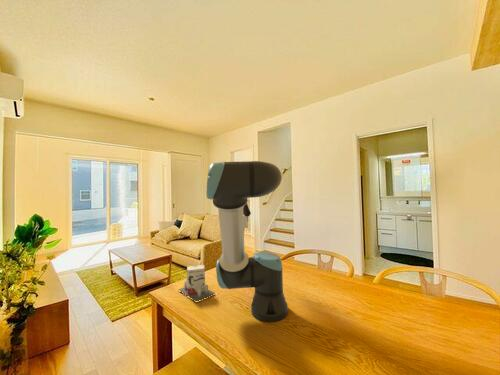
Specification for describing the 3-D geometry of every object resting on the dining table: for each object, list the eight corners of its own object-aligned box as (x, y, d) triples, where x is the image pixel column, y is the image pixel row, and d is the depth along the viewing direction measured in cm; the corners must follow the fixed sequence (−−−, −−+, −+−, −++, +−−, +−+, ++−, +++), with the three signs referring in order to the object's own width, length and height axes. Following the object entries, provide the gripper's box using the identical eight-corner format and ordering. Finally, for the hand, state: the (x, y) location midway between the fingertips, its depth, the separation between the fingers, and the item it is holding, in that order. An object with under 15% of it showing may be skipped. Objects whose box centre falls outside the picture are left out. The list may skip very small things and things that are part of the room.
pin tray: (214, 294, 104) (214, 284, 104) (196, 303, 97) (196, 292, 97) (196, 284, 116) (195, 275, 116) (178, 291, 109) (178, 281, 109)
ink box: (187, 294, 103) (186, 270, 103) (187, 290, 108) (186, 266, 108) (205, 291, 105) (204, 267, 105) (205, 287, 110) (204, 264, 110)
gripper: (247, 190, 129) (248, 225, 129) (212, 191, 111) (214, 232, 111) (256, 190, 124) (257, 226, 123) (221, 191, 106) (223, 234, 106)
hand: (236, 229), depth 117 cm, fingers open, 13 cm apart
